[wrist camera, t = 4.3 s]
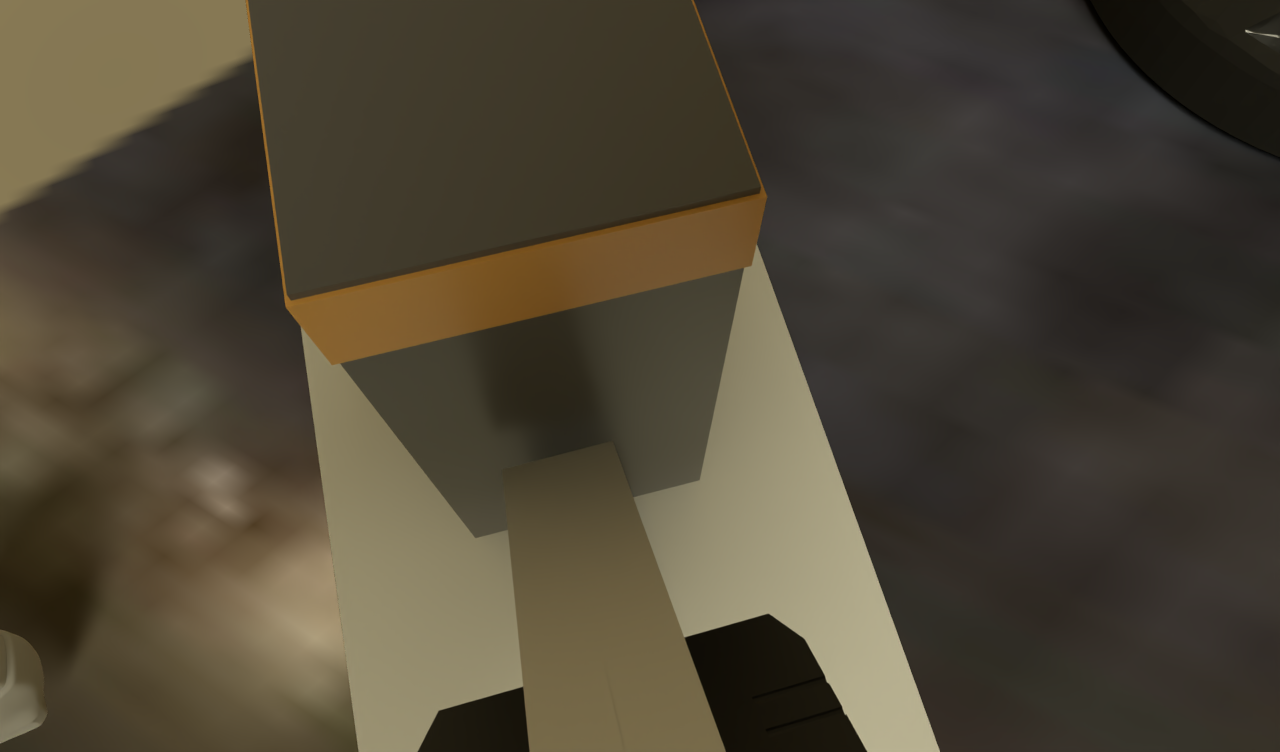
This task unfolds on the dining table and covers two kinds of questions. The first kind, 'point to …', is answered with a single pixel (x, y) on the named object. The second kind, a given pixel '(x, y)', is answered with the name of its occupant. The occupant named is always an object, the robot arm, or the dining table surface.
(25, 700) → the mug
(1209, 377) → the dining table surface
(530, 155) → the lever
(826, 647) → the switch box
